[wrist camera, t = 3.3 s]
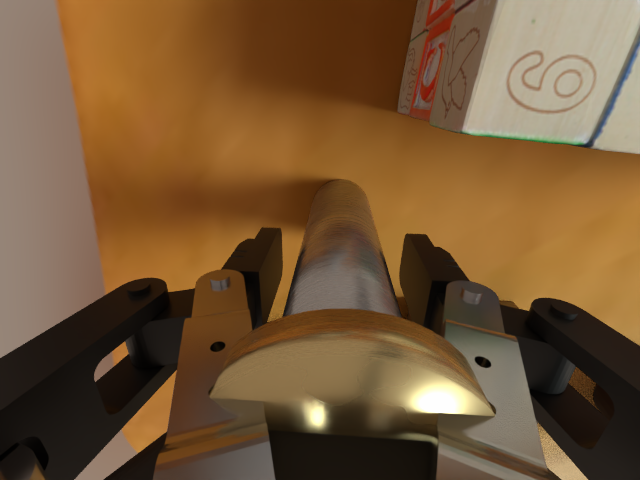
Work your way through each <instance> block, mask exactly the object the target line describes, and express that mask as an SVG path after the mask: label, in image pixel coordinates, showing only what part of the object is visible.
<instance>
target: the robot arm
mask: <svg viewBox="0 0 640 480" xmlns="http://www.w3.org/2000/svg"><path fill="white" fill-rule="evenodd" d="M282 269H283V260H282V233H281V229H280V228H264V227H262V228H261V229H260V231H259V233H258V234H257V236H256V238H255V239H247V240H245V241H243V242H241V243H240V244H239V245H238V246H237V247H236V249H235V251H234V252H233V253H232V255H231V257H229V259H228V260H227V262H226V263H225V265H224V266H223V267H222V269H221V270H216V271H212V272H209V273H206V274H204V275H203V276H201V277H200V278H199V279H198V280H197V282H196V286H195V288H194V289H189V290H182V291H174V292H168V289H167V284H166V282H165V281H163V280H161V279H158V278H143V279H138V280H134V281H131V282H128V283H126V284H124V285H122V286H120V287H118V288H117V289H115V290H113V291H112V292H110V293H108V294H107V295H105V296H103V297H102V298H100V299H98V300H97V301H95V302H94V303H92V304H90V305H88V306H87V307H85V308H84V309H82V310H80V311H78V312H77V313H75V314H74V315H72V316H70V317H68V318H67V319H65V320H63V321H62V322H60V323H58V324H57V325H55V326H53V327H52V328H50V329H48V330H47V331H45V332H44V333H42V334H40V335H38V336H37V337H35V338H33V339H32V340H30V341H28V342H27V343H25V344H23V345H22V346H20V347H18V348H17V349H15V350H13V351H12V352H10V353H8V354H7V355H5V356H3V357H2V358H0V480H74V479H75V478H76V477H77V476H78V475H79V474H80V472H82V471H83V470H84V468H85V467H86V466H87V465H88V464H89V463H90V462H91V461H92V460H93V459H94V458H95V457H96V456H97V454H98V453H99V452H100V451H101V450H102V449H103V448H104V447H105V446H106V445H107V444H108V443H109V442H110V441H111V439H112V438H113V437H114V436H115V435H116V434H117V433H118V432H119V431H120V430H121V429H122V428H123V427H124V426H125V424H126V423H127V422H128V421H129V420H130V419H131V418H132V417H133V416H134V415H135V414H136V413H137V412H138V411H139V409H140V408H141V407H142V406H143V405H144V404H145V403H146V402H147V401H148V400H149V399H150V398H151V397H152V395H153V394H154V393H155V392H156V391H157V390H158V389H159V388H160V387H161V386H162V385H163V384H164V383H165V382H166V380H167V379H168V378H169V377H170V376H171V375H172V374H173V373H174V372H175V371H176V370H177V372H176V378H175V385H174V391H173V397H172V404H171V410H170V417H169V423H168V430H167V432H166V433H164V434H163V435H162V436H160V437H159V438H158V439H157V440H155V441H154V442H153V443H151V444H150V445H149V446H147V447H146V448H145V449H143V450H142V451H141V452H139V453H138V454H137V455H135V456H134V457H133V458H131V459H130V460H129V461H127V462H126V463H125V464H124V465H122V466H121V467H120V468H118V469H117V470H116V471H114V472H113V473H112V474H110V475H109V476H108V477H106V478H105V479H104V480H561V479H560V478H559V477H558V476H556V475H555V474H554V473H553V472H552V471H550V470H549V469H548V468H547V466H546V462H545V458H544V454H543V449H542V445H541V441H540V436H539V432H538V428H537V423H536V420H537V422H538V423H539V424H540V425H541V426H542V427H543V428H544V430H545V431H546V432H547V433H548V434H549V435H550V436H551V438H552V439H553V440H554V441H555V442H556V443H557V444H558V446H559V447H560V448H561V449H562V450H563V451H564V452H565V454H566V455H567V456H568V457H569V458H570V459H571V460H572V462H573V463H574V464H575V465H576V466H577V467H578V468H579V470H580V471H581V472H582V473H583V474H584V475H585V476H586V478H587V479H588V480H640V346H639V345H637V344H636V343H634V342H633V341H631V340H629V339H628V338H626V337H625V336H623V335H622V334H620V333H619V332H617V331H615V330H614V329H612V328H611V327H609V326H608V325H606V324H605V323H603V322H601V321H600V320H598V319H597V318H595V317H594V316H592V315H591V314H589V313H587V312H586V311H584V310H583V309H581V308H579V307H577V306H575V305H573V304H570V303H568V302H565V301H561V300H557V299H552V298H538V299H535V300H534V301H533V302H532V304H531V307H530V310H529V311H526V310H522V309H517V308H513V307H509V306H505V305H501V304H499V298H498V296H497V295H496V293H495V292H493V291H492V290H491V289H489V288H488V287H486V286H484V285H481V284H478V283H475V282H471V281H469V279H468V278H467V277H466V275H465V274H464V272H463V271H462V270H461V268H459V266H458V264H457V263H456V262H455V260H454V259H453V257H452V256H451V255H450V253H448V252H447V251H445V250H444V249H442V248H440V247H434V245H433V244H432V242H431V241H430V239H429V238H428V236H427V235H426V234H406V235H405V238H404V244H403V251H402V258H401V265H400V274H399V277H400V285H401V288H402V291H403V294H404V297H405V300H406V303H407V306H408V309H409V312H410V315H411V318H412V321H413V322H415V323H417V324H419V325H421V326H423V327H425V328H427V329H429V330H431V331H433V332H435V333H436V334H438V335H439V336H441V337H442V338H444V339H445V340H447V341H449V342H450V343H451V344H452V345H453V346H454V347H455V348H457V349H458V350H459V351H460V352H461V353H462V354H463V355H464V356H465V357H466V359H467V360H468V362H469V364H470V366H471V368H472V370H473V372H474V374H475V376H476V378H477V380H478V382H479V384H480V386H481V388H482V390H483V392H484V394H485V396H486V398H487V400H488V402H489V403H490V405H491V406H492V408H493V410H494V412H495V416H482V415H467V414H452V413H438V417H437V421H436V425H435V429H434V432H433V436H432V441H420V440H406V439H392V438H377V437H363V436H348V435H334V434H320V433H305V432H291V431H277V430H268V428H267V423H266V419H265V413H264V406H263V401H253V400H238V399H223V398H209V397H210V396H209V393H210V391H211V389H212V388H213V386H214V385H215V384H216V381H217V379H218V377H219V374H220V372H221V370H222V368H223V365H224V363H225V361H226V358H227V356H228V354H229V352H230V349H231V347H232V346H233V345H234V344H235V343H236V342H237V341H238V340H239V339H241V338H242V337H244V336H245V335H247V334H248V333H249V332H251V331H252V330H254V329H256V328H258V327H260V326H262V325H264V324H266V323H267V320H268V317H269V314H270V311H271V308H272V305H273V302H274V299H275V296H276V293H277V290H278V287H279V284H280V281H281V277H282ZM124 341H125V342H126V346H127V349H128V352H129V354H128V355H127V356H126V357H125V358H123V359H122V360H121V361H120V362H119V363H118V364H116V365H115V366H114V367H113V368H112V369H110V370H109V371H108V372H107V373H106V374H105V375H103V376H102V377H101V378H100V379H99V380H97V381H96V382H95V381H94V372H95V369H96V367H97V365H98V364H99V362H100V361H101V360H102V359H103V358H104V357H105V356H107V355H108V354H109V353H110V352H112V351H113V350H114V349H115V348H117V347H118V346H119V345H120V344H122V343H123V342H124ZM576 367H577V368H579V369H580V370H581V371H582V372H583V373H585V374H586V375H587V376H588V377H589V378H591V379H592V380H593V381H594V382H595V383H597V384H598V385H599V386H600V387H601V388H603V389H604V390H605V391H606V392H607V393H608V395H609V396H610V398H611V399H612V401H613V404H614V410H615V411H614V415H613V417H612V418H611V420H608V419H607V418H606V417H605V416H604V415H603V414H602V413H601V412H600V411H598V410H597V409H596V408H595V407H594V406H593V405H592V404H591V403H590V402H589V401H587V400H586V399H585V398H584V397H583V396H582V395H581V394H580V393H579V392H578V391H576V390H575V389H574V388H573V387H572V386H571V385H570V384H569V383H568V382H569V380H570V378H571V376H572V374H573V372H574V370H575V368H576Z"/></svg>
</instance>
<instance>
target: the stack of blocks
mask: <svg viewBox="0 0 640 480" xmlns="http://www.w3.org/2000/svg"><path fill="white" fill-rule="evenodd" d="M397 110H398V113H401V114H404V115H410V117H413V118H417V119H421V120H426V121H429V123H430V125H432V126H434V127H438V128H441V129H445V130H448V131H452V132H456V133H461V134H468V135H474V136H486V137H496V138H505V139H516V140H527V141H536V142H543V143H554V144H568V145H573V146H578V147H585V148H591V149H598V150H605V151H614V152H624V153H634V154H640V0H418V2H417V7H416V13H415V18H414V23H413V28H412V33H411V40H410V44H409V48H408V52H407V57H406V62H405V67H404V72H403V78H402V83H401V89H400V95H399V102H398V109H397Z"/></svg>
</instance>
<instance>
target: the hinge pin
mask: <svg viewBox="0 0 640 480" xmlns="http://www.w3.org/2000/svg"><path fill="white" fill-rule="evenodd" d="M209 396H210V397H209V398H223V399H238V400H253V401H263V406H264V413H265V419H266V423H267V428H268V430H277V431H291V432H305V433H320V434H334V435H348V436H363V437H377V438H392V439H406V440H420V441H432V436H433V432H434V429H435V425H436V421H437V417H438V413H452V414H467V415H482V416H495V412H494V410H493V408H492V406H491V405H490V403H489V402H488V400H487V398H486V396H485V394H484V392H483V390H482V388H481V386H480V384H479V382H478V380H477V378H476V376H475V374H474V372H473V370H472V368H471V366H470V364H469V362H468V360H467V359H466V357H465V356H464V355H463V354H462V353H461V352H460V351H459V350H458V349H457V348H455V347H454V346H453V345H452V344H451V343H450V342H449V341H447V340H445V339H444V338H442V337H441V336H439V335H438V334H436V333H435V332H433V331H431V330H429V329H427V328H425V327H423V326H421V325H419V324H417V323H415V322H412V321H409V320H406V319H403V318H402V316H401V313H400V309H399V306H398V303H397V299H396V296H395V292H394V289H393V285H392V282H391V278H390V275H389V272H388V268H387V265H386V261H385V258H384V254H383V251H382V247H381V244H380V241H379V237H378V234H377V230H376V227H375V223H374V220H373V216H372V213H371V210H370V206H369V203H368V199H367V196H366V194H365V193H364V191H363V190H362V189H361V188H360V187H359V186H358V185H357V184H355V183H353V182H351V181H347V180H334V181H330V182H328V183H326V184H325V185H323V186H322V187H321V188H320V189H319V190H318V191H317V193H316V195H315V197H314V199H313V203H312V207H311V211H310V215H309V218H308V222H307V226H306V230H305V234H304V237H303V241H302V245H301V249H300V252H299V256H298V260H297V264H296V268H295V271H294V275H293V279H292V283H291V287H290V290H289V294H288V298H287V302H286V306H285V309H284V313H283V317H282V318H279V319H276V320H274V321H271V322H268V323H266V324H264V325H262V326H260V327H258V328H256V329H254V330H252V331H251V332H249V333H248V334H247V335H245V336H244V337H242V338H241V339H239V340H238V341H237V342H236V343H235V344H234V345H233V346H232V347H231V349H230V352H229V354H228V356H227V358H226V361H225V363H224V365H223V368H222V370H221V372H220V374H219V377H218V379H217V381H216V384H215V385H214V386H213V388H212V389H211V391H210V393H209Z"/></svg>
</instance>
